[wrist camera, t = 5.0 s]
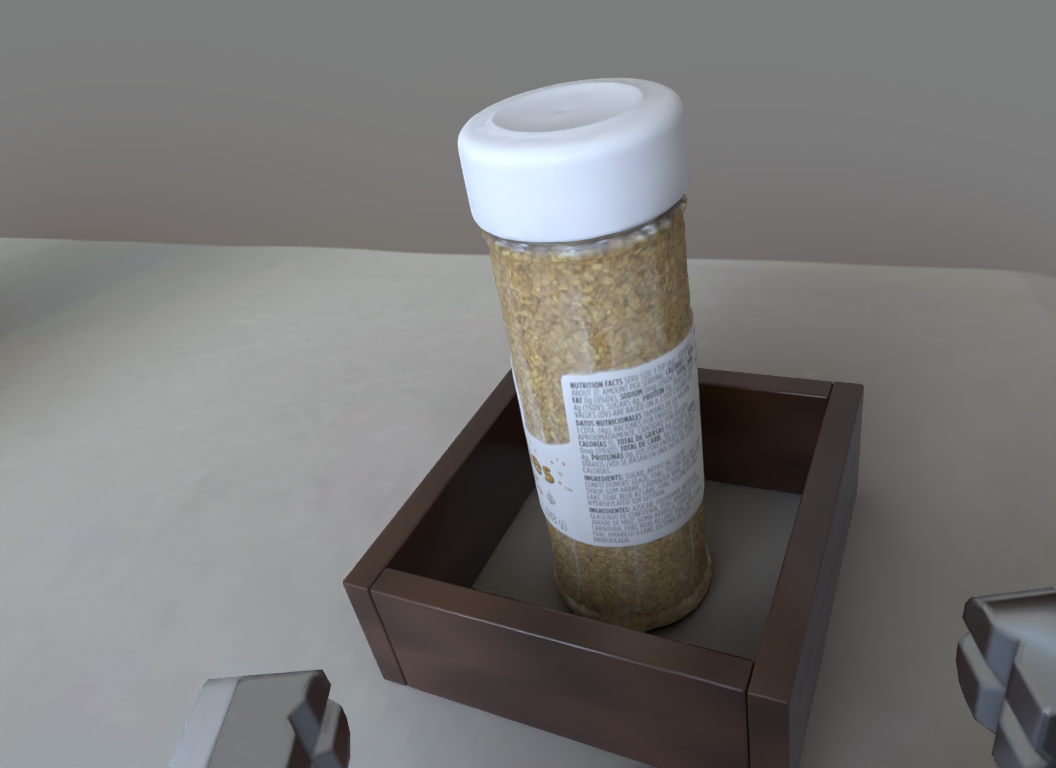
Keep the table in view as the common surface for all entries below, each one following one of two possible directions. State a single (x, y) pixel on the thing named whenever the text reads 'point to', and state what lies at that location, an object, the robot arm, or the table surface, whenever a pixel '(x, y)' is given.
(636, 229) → the sprinkles bottle
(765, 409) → the caddy
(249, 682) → the robot arm
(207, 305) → the table surface
